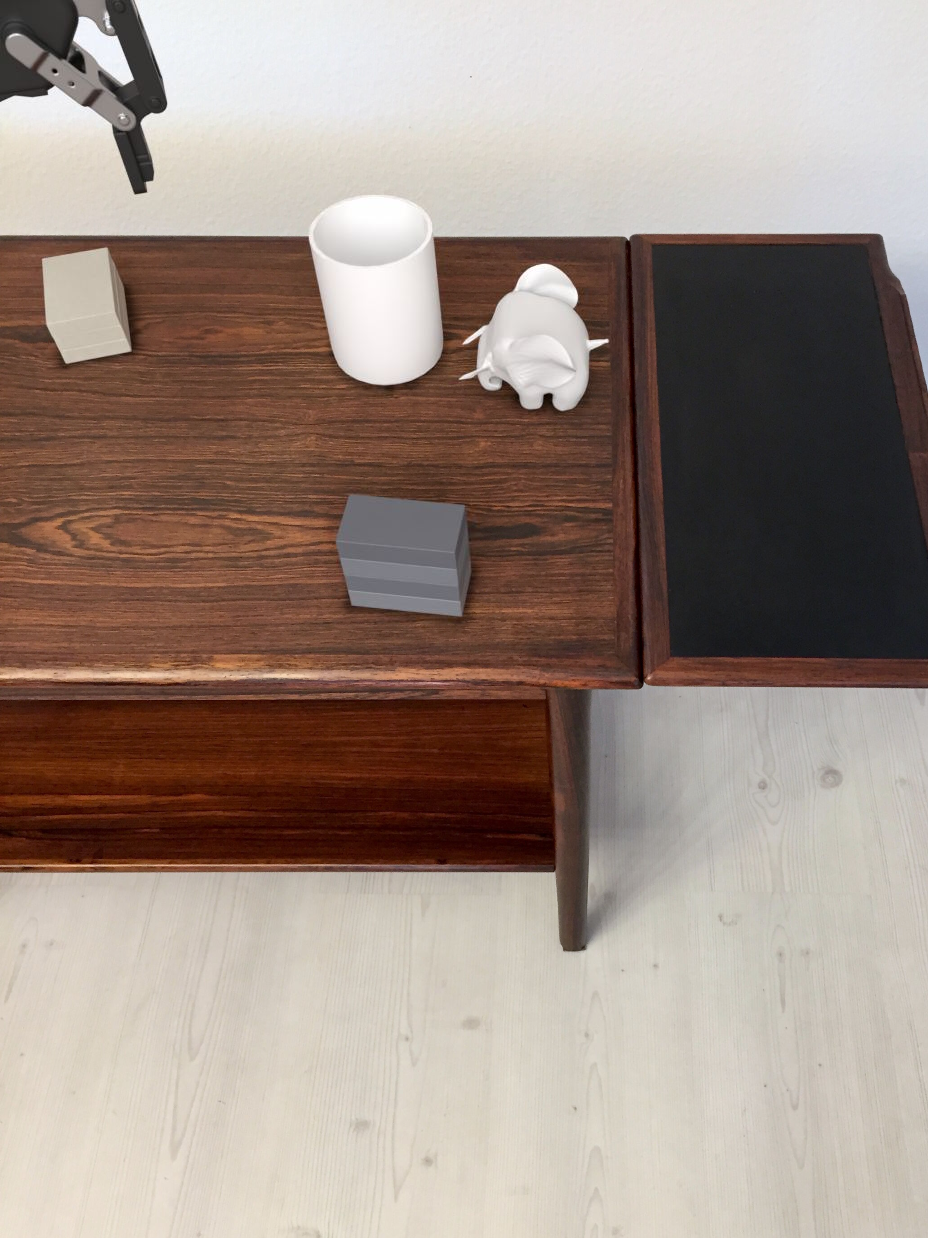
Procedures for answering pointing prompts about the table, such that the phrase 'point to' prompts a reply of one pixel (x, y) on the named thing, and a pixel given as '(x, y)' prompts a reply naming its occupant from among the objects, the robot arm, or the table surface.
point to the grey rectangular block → (405, 554)
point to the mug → (379, 287)
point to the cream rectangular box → (99, 336)
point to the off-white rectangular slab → (80, 292)
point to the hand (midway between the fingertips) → (61, 199)
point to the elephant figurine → (536, 341)
